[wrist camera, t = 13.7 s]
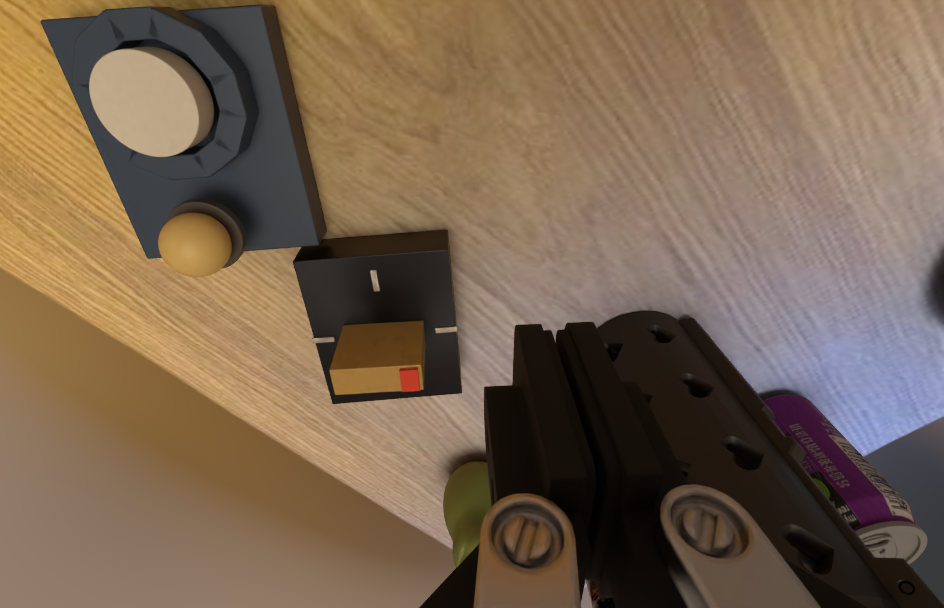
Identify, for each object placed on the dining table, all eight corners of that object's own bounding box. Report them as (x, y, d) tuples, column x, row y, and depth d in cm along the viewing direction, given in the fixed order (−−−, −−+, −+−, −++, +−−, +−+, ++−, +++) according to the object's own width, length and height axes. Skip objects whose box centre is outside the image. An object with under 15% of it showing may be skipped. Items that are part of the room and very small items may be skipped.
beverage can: (721, 403, 40) (819, 539, 29) (810, 377, 39) (943, 508, 28) (728, 458, 43) (818, 597, 33) (809, 435, 42) (928, 571, 32)
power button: (94, 50, 21) (68, 52, 20) (195, 43, 21) (176, 45, 20) (136, 151, 24) (116, 160, 22) (227, 144, 24) (213, 153, 22)
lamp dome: (158, 200, 25) (123, 224, 22) (234, 195, 25) (208, 217, 22) (186, 267, 26) (156, 296, 24) (255, 262, 27) (234, 290, 24)
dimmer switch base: (303, 240, 30) (290, 262, 28) (449, 229, 30) (450, 250, 28) (338, 376, 36) (330, 406, 33) (461, 366, 36) (463, 394, 33)
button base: (69, 16, 24) (6, 16, 20) (273, 1, 24) (246, -1, 20) (165, 243, 30) (130, 273, 26) (327, 231, 30) (312, 259, 27)
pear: (431, 468, 42) (429, 585, 33) (478, 438, 40) (488, 553, 32) (473, 498, 44) (480, 615, 36) (519, 471, 43) (538, 586, 34)
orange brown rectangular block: (347, 348, 31) (334, 398, 27) (343, 324, 30) (328, 372, 26) (425, 343, 31) (423, 392, 27) (423, 320, 30) (420, 367, 26)
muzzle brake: (659, 274, 33) (546, 364, 36) (1237, 965, 9) (748, 1033, 13) (729, 350, 37) (620, 424, 40) (1267, 977, 13) (884, 1027, 16)
